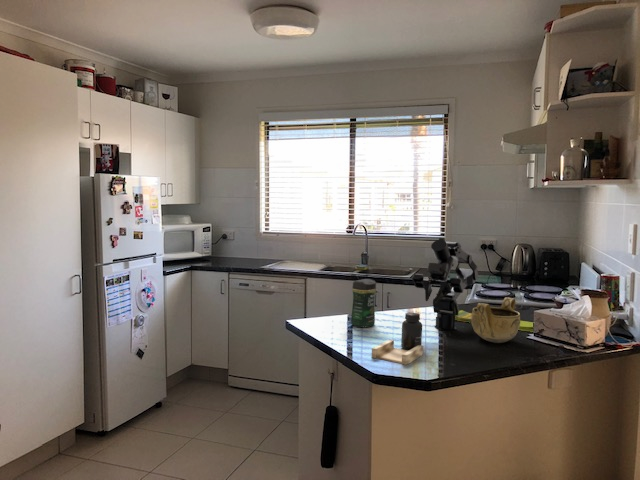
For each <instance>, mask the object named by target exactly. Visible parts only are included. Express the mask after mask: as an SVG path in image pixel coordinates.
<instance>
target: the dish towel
mask: <svg viewBox="0 0 640 480" xmlns="http://www.w3.org/2000/svg"><path fill="white" fill-rule="evenodd" d="M471 316H472V312H467V311H464V310H463V309H462V310H459V313H458V315H455V320H457V321H456V322H459V321H463V322H462V323H465V322H469V323H468V324H472V321H471ZM533 323H534V322H531V321H527V320H526V321H525V320H520V327H519V330H521V331H530V332H533V328H534V327H533ZM521 331H520V332H521Z"/></svg>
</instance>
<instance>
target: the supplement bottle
mask: <svg viewBox="0 0 640 480" xmlns="http://www.w3.org/2000/svg"><path fill="white" fill-rule="evenodd" d="M404 316H405V317H404V320H403V321H402V325H401V336H400V337H401V338H400V340H401V341H400V343H401V344H400V347H401V348H402V349H403V350H408V351H409V350H411V349H413V348H414V347H416V346H418V345H422V339H423V324H422V322H421V321H420V320H421V319H420V318H421V317H420V316H421V315H420V313H418V312H413V311H412V312H411V311H410V312H405V315H404Z"/></svg>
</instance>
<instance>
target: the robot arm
mask: <svg viewBox="0 0 640 480" xmlns="http://www.w3.org/2000/svg"><path fill="white" fill-rule="evenodd" d="M430 246H431V250H432V252H433V256H434V259H436V260H437V262H428V266H427V272H428V273H429V274H428V275H429V277H428V276H425V275H424V274H423V273H414V274H413V275H412V277H411V281H412V283H413V286H414V288H417V289H423V290H424V292H425V293H424V294H425V295H424V296H425V297H424V298H425V299H424V300H425V301H426V302H428V301H429V299H430V297H431V294H432V292H433V288H432V286H435V287H436V286H439V290H438V292H437V293H436V294H435V296H434V298H433V300H432V307H433V308H432V309H433V313H435V314H436V317H435V325H434V328H435V329H438V330H440V331H442V332H443V331H456V330H457V329H458V328H457V327H456V325H455V324H456V321H455V315H458V313H459V311H460V307H459V304H458V301H457V299H458V297H459V296H460V295H461V294H462V293H463V292H464V290H465V289H466V288H467V286H470V285H471V286H472V285H474V284H475V283H476V282H477V280H478V279H479V272H478V266H477V265H476V263H475V261H473V257H472V254H470V253H467V252H466V251H464V250H463V249H462V246H461V244H460V242H458V241H446V239H445V237H439V238H438V239H436V240H435V241H434V242H432V243H431V245H430ZM454 260H455V261H457V265H456V266H455V275H456V277H451V276H450V275H451V274H450V272H451V270H452V267H454V265H455V263H454V262H455V261H454ZM460 264H468V266H469V268H466V267H465V268H464V267H460ZM448 278H449V281H448Z"/></svg>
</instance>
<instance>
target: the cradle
mask: <svg viewBox="0 0 640 480" xmlns="http://www.w3.org/2000/svg"><path fill="white" fill-rule="evenodd" d="M394 346H395V341H394V340H393V339H389V340H386V341H384V342H382V343H380V344H378V345H376V346H373V347H372V348H371V359H377V360H378V359H379V360H384V361H386V362H387V361H388V362H392V363H393V362H394V363H398V364H401V365H405V366H407V365H409V364H411V363H412V362H413V361H416V360H417V359H419V358H420V357H421V356H423V355H424V345H422V344H421V345H418V346H416V347H414V348H413V349H411V350H405V349H403V348H402V349H401V348H397V347H394Z"/></svg>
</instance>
